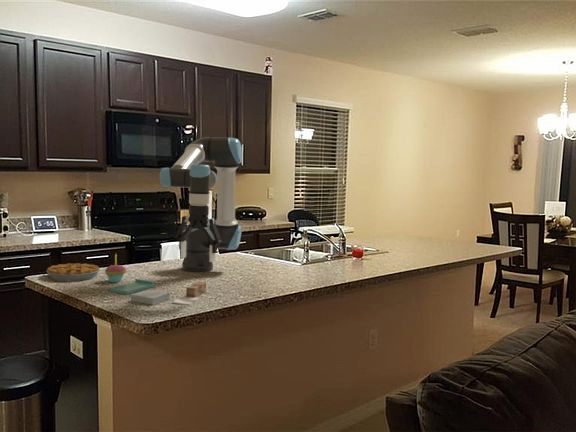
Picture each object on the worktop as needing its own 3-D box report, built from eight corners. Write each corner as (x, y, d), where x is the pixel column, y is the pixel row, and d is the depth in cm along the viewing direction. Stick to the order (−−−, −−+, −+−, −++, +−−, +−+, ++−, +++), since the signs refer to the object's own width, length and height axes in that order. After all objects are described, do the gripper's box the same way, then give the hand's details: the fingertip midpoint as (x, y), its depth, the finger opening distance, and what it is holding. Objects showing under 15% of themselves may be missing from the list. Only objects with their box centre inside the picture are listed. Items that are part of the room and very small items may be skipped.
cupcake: (104, 279, 229) (105, 252, 228) (125, 278, 232) (125, 251, 231) (105, 283, 221) (105, 255, 220) (126, 283, 224) (127, 255, 223)
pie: (95, 270, 247) (95, 260, 246) (103, 280, 228) (103, 269, 227) (44, 273, 236) (44, 262, 236) (47, 283, 217) (47, 271, 217)
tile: (148, 289, 204) (130, 294, 195) (169, 292, 200) (153, 298, 191) (148, 296, 204) (130, 301, 195) (169, 299, 201) (152, 305, 191)
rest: (136, 283, 223) (136, 278, 223) (154, 286, 219) (154, 281, 219) (109, 291, 208) (109, 285, 208) (127, 294, 205) (127, 288, 205)
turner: (193, 290, 216) (193, 281, 215) (209, 292, 214) (210, 282, 214) (171, 303, 195) (172, 293, 194) (189, 305, 193) (189, 294, 193)
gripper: (231, 206, 202) (229, 261, 204) (178, 202, 211) (176, 254, 213) (221, 207, 195) (219, 264, 197) (166, 203, 205) (165, 257, 207)
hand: (197, 259), depth 205 cm, fingers open, 13 cm apart
